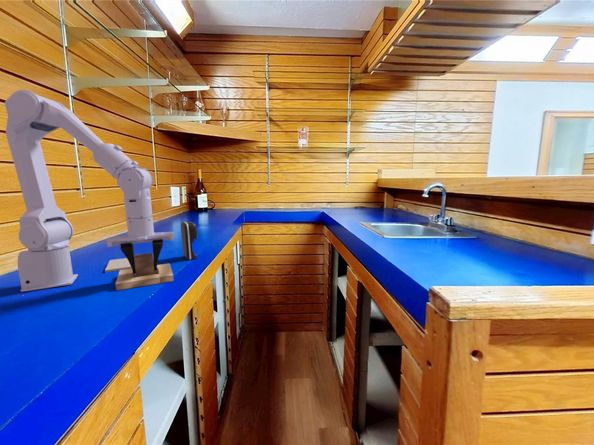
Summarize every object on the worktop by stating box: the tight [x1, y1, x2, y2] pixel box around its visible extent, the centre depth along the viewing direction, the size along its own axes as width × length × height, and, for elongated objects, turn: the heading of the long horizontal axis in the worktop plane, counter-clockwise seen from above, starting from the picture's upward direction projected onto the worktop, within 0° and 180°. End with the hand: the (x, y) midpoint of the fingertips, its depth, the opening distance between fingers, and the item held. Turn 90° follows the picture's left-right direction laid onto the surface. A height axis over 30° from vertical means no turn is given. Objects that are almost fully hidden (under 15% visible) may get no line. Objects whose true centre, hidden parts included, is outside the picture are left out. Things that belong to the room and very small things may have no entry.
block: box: [134, 252, 155, 277], centre depth 74 cm, size 4×4×6 cm
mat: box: [104, 257, 132, 273], centre depth 89 cm, size 12×12×1 cm
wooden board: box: [115, 263, 174, 291], centre depth 75 cm, size 12×12×2 cm
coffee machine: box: [180, 221, 199, 260], centre depth 94 cm, size 7×4×11 cm, turn 32°
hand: (145, 271), depth 74 cm, fingers closed on block, 4 cm apart
